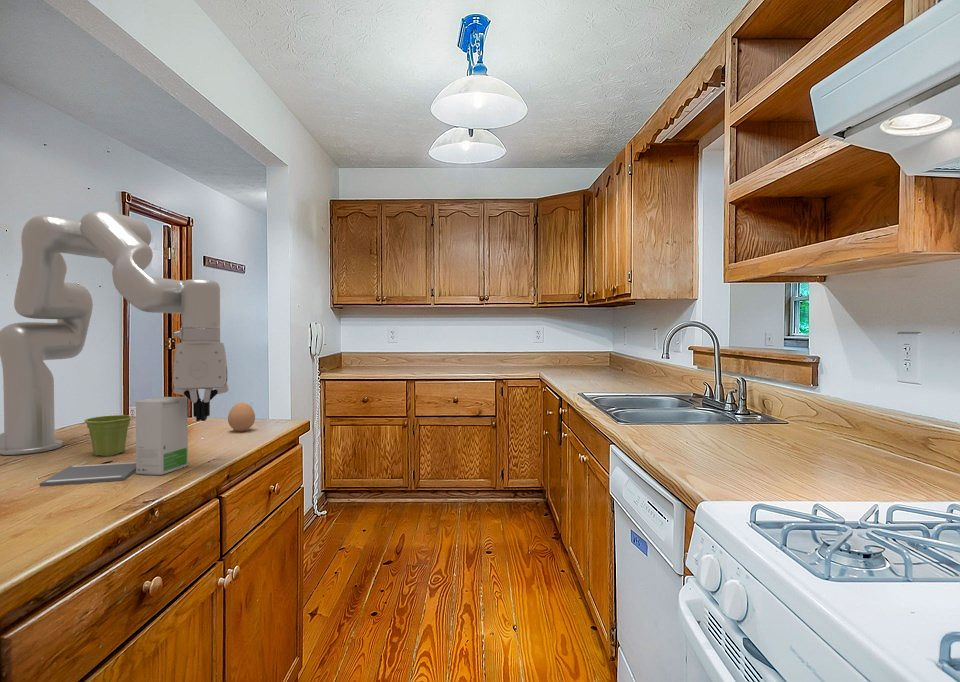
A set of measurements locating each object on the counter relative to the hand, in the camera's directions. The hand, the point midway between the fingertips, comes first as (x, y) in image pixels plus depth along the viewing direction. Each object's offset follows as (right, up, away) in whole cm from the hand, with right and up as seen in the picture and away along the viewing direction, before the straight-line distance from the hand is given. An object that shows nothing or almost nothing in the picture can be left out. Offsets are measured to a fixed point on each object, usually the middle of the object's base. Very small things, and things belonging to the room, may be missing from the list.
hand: (201, 419), depth 115 cm
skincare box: (-7, -11, -2) cm, 13 cm away
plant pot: (-29, -10, +12) cm, 33 cm away
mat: (-19, -11, -6) cm, 23 cm away
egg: (-10, -10, +40) cm, 43 cm away
